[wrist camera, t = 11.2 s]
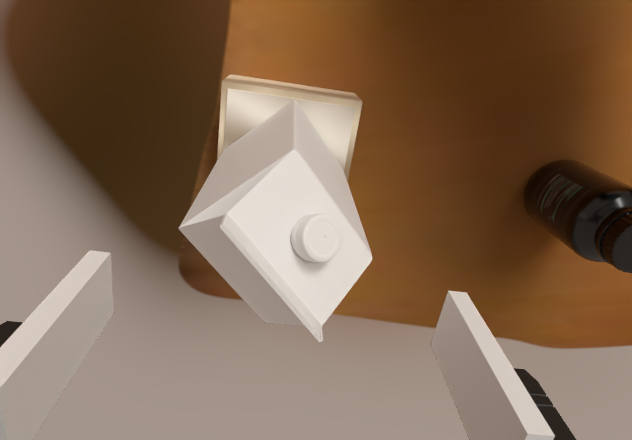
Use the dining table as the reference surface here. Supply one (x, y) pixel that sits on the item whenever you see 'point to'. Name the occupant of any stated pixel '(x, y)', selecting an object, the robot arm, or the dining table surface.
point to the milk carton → (281, 223)
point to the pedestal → (270, 96)
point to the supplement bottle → (584, 211)
